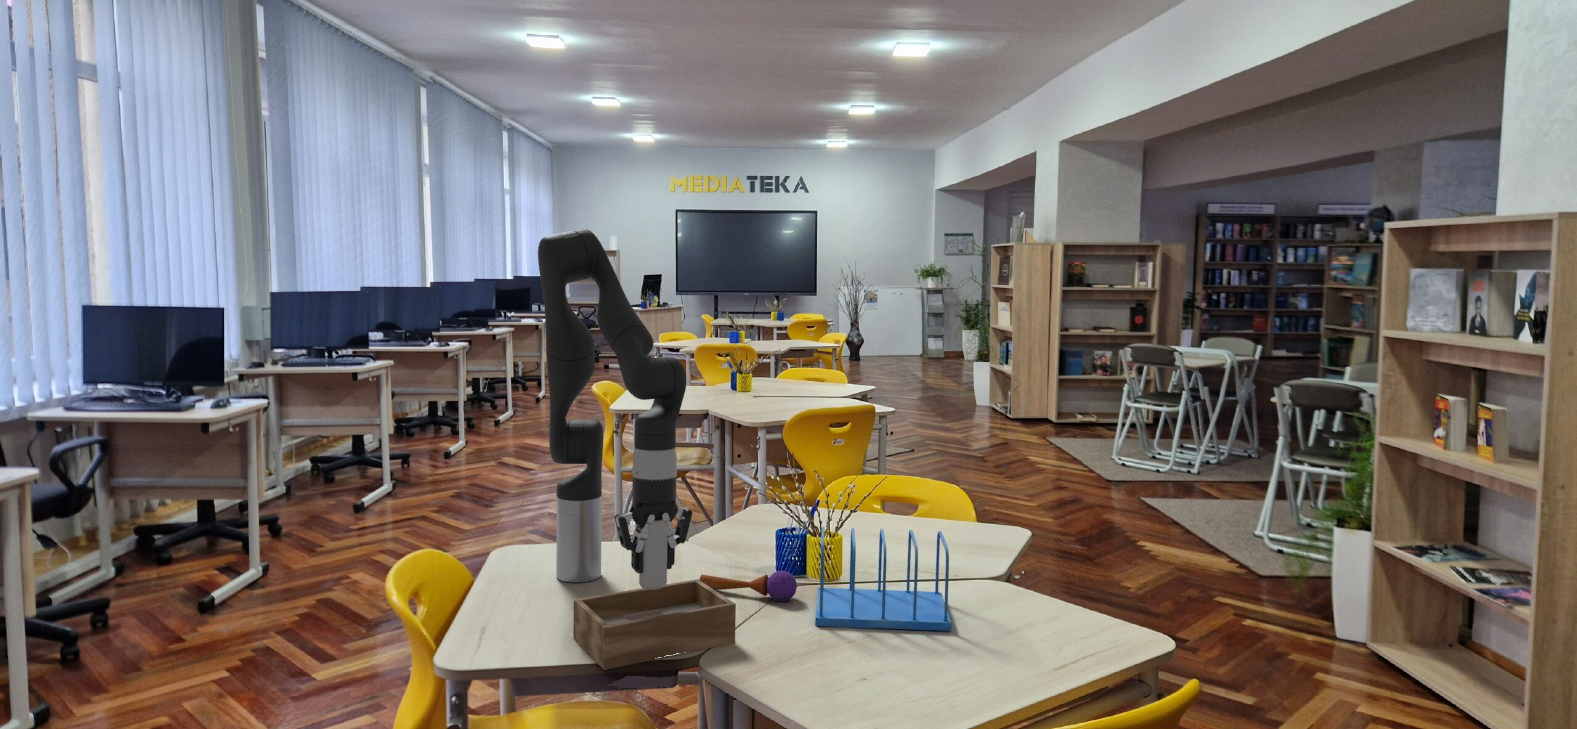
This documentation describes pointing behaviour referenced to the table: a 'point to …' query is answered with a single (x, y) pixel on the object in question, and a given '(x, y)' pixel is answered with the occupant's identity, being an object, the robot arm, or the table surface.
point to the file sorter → (884, 598)
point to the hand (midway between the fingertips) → (653, 569)
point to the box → (653, 623)
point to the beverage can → (655, 557)
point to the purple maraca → (758, 584)
